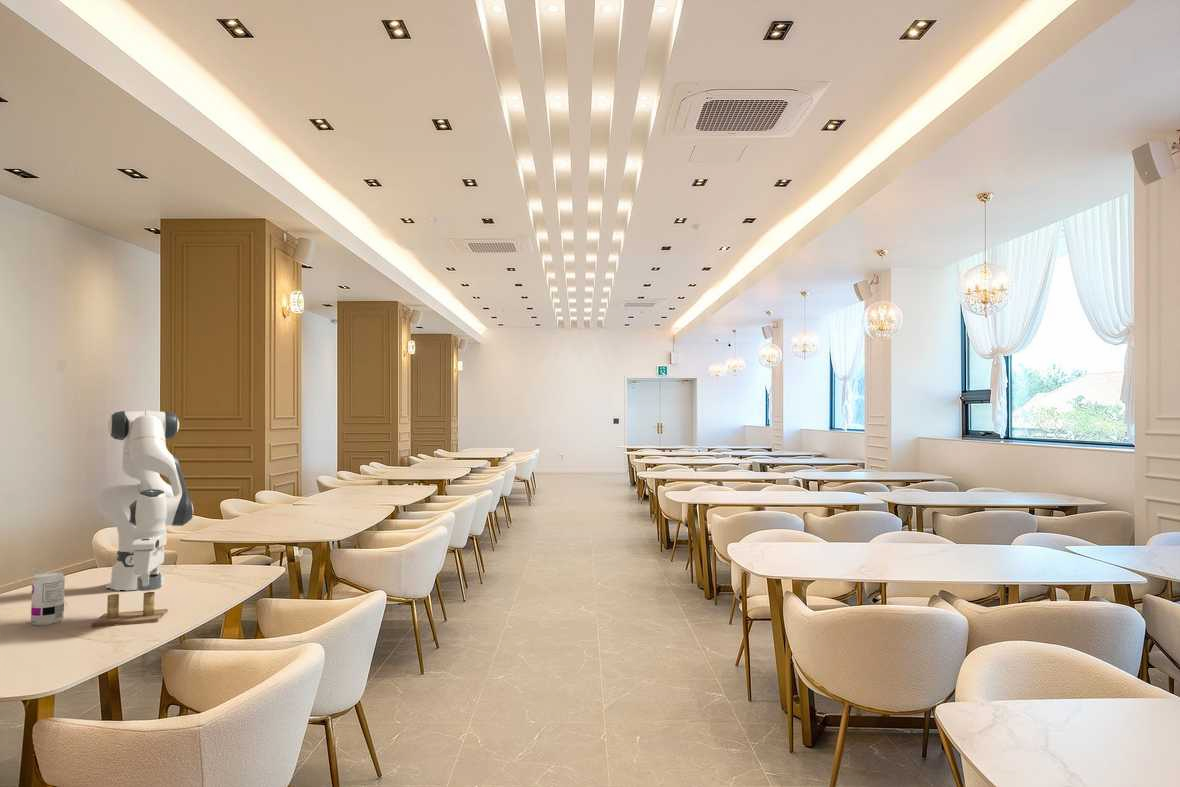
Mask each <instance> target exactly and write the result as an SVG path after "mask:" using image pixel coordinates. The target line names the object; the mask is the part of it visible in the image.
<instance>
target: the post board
mask: <svg viewBox="0 0 1180 787" xmlns="http://www.w3.org/2000/svg"><path fill="white" fill-rule="evenodd" d="M119 605H120V594H119V593H111V594H108V595H107V606H106V607H107V608H106V612H105V613H103V614H101V616H99V617H98V618H97V619H95V620H94V621H93V622H91V623H90V625H91V626H92V627H91V626H90V627H91V628H94V626H96V627H107V626H106V625H110V626H116V625H115V624H123V625H130V624H129V623H137V624H144V623H143V622H150V623H157V622H156V621H158V620H159V619H160V618H161V617H162V616H163V615H164V614H165V613H166V612H167V613H168V608H163V609H161V608H160V609H155V591H145V592H143V604H142V605H143V608H142V609H143V610H134V611H133V610H132V611H121V612H120V611H119V610H120V609H119V608H120V606H119ZM167 613H166V614H167ZM166 614H165V615H166ZM165 615H164V616H165ZM164 616H163V617H164ZM163 617H162V618H163ZM162 618H161V619H162ZM161 619H160V620H161ZM160 620H159V621H160ZM159 621H158V622H159Z"/></svg>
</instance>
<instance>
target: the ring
mask: <svg viewBox="0 0 1180 787" xmlns="http://www.w3.org/2000/svg"><path fill="white" fill-rule="evenodd" d="M161 575H162V574H161V573H160V574H150V575H149V580H150V584H149V585H148V586H142V579H141V576H138V577H137V591H139V592H140V591H141V592H151V591H155V590H159V589H161V588H162V585H161Z"/></svg>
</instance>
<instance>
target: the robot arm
mask: <svg viewBox="0 0 1180 787" xmlns="http://www.w3.org/2000/svg"><path fill="white" fill-rule="evenodd" d="M179 429H180V422H179V419H178V416H177V414H175V413H174V412H172V411H166V410H165V411H159V410H158V411H157V410H149V409H148V410H132V411H124V410H121V411H116V412H113V414H111V417H110V418H109V420H108V422H107V430H108V433H109V435H110V438H113V439H114V440H118V441H123V445H122V446H123V448H122V463H121V469H122V471H123V473H124V474H125V475H126V476H129V477H131V478H132V479H136V480H138V481H140V482H139V484H121V485H120V484H119V485H114V486H109V487H104V488H103V489H101V490H100V491H99V492H98V494H97V495H96V496H97V497H96V498H95V499H96V500H95V501H96V502H95V504H96V507H97V509H98V510H99V511H100V513H102V514H103V515H105V516H107V517H108V518H109V519H110V520H111V521H112V522H113V524H114V525H115V527H116V529H117V535H118V538H117V539H118V550H117V552H116V563H114V564H113V566H112V567H111V577H110V583H109V584H106V586H105V589H106V588H110V590H113V589H114V590H113V591H120V590H125V591H134V590H135V591H136V590H137V577H138V576H141V579H142V586H148V585H149V584H150V580H149V575H150V574H161V573H160V572H159V566H161V565H163V563H164V561H165V546H166V545H167V537H168V536H167V533H168V532H167V531H168V530H167V527H168V526H173V527H174V526H175V527H183V526H185V525H186V524H188V523H190V521H191V520H192V519H193V515H194V506H193V502H192V500H191V497H190V495H189V493H188V489H187V485H186V481H185V478H184V477H185V476H184V474H183V471H182V467H181V465H180V461H179V459H178V458H177V456H176V455H173V454H172V453H171V452H170V451H169V450H168V448H167V443H166V442H167V441H166V440H171V439H173V438H174V437H176V436H177V433H178V431H179ZM161 475H163V476H164V477H166V478H167V479H168V480H169V483H170V484H168V483H167V482H166V481H165V480H164V479H162V477H161ZM164 581H165V575H163V574H161V586H163V585H164ZM137 591H138V590H137Z"/></svg>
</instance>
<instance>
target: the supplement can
mask: <svg viewBox="0 0 1180 787" xmlns="http://www.w3.org/2000/svg"><path fill="white" fill-rule="evenodd" d="M65 578H66V576H65V575H64V574H63V572H61V571H51V572H42V573H38V574H35V575H34V577H33V579H32V580H31V582H32V583H31V605H30V606H31V609H30V610H31V611H30V613H31V615H30V623H32V625H34V626H46V625H53V624H52V623H54V624H58V623H60V622H61V621H62V620H63V619H64V611H65V607H64V606H65V582H66V579H65ZM59 621H60V622H59Z"/></svg>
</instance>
